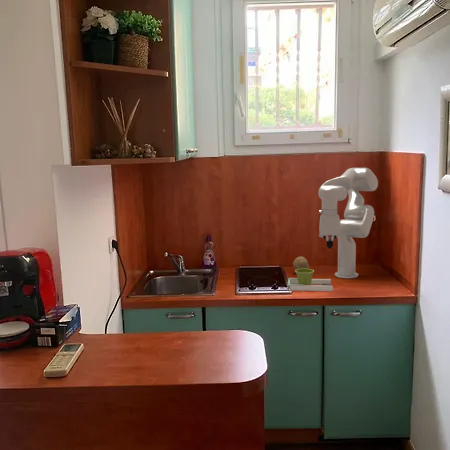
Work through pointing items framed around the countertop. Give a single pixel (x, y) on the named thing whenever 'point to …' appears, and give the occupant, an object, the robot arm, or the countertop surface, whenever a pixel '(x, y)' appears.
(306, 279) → the plant pot
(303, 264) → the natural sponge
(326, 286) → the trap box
